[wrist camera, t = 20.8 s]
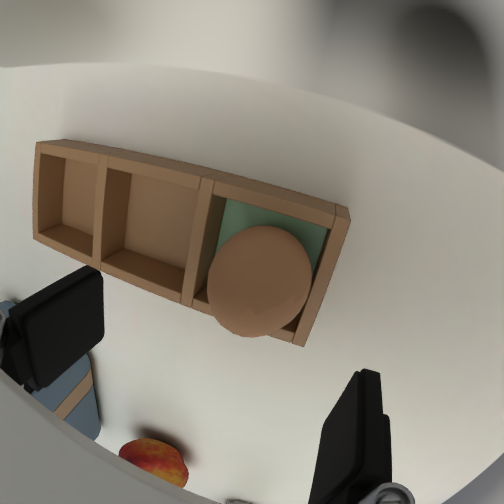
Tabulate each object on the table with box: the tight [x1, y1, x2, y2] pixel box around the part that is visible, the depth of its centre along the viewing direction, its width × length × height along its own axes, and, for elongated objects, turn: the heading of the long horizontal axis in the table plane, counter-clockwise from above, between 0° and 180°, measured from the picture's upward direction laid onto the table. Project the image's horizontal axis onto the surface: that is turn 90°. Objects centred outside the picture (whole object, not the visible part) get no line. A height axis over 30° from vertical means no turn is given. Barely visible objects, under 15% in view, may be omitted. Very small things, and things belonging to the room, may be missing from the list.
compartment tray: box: [33, 139, 351, 347], centre depth 20 cm, size 23×8×3 cm, turn 77°
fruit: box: [119, 438, 189, 488], centre depth 28 cm, size 8×8×8 cm
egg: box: [207, 225, 312, 337], centre depth 16 cm, size 5×5×8 cm
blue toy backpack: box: [0, 300, 101, 441], centre depth 25 cm, size 16×16×16 cm
